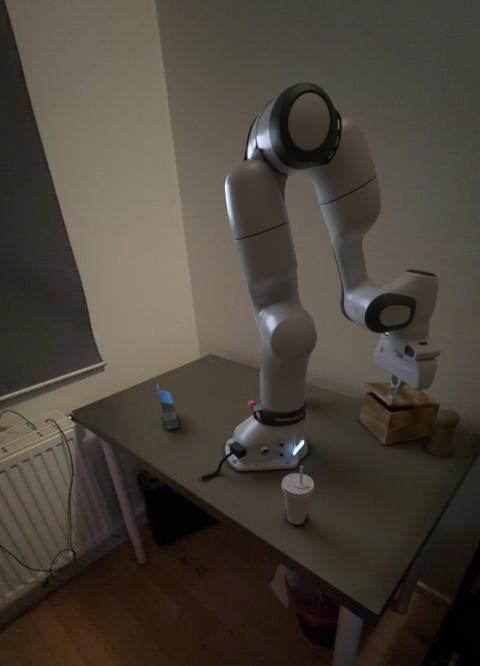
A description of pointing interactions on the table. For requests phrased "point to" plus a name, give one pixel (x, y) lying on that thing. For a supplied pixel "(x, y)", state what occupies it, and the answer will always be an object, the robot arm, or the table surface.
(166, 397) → the cordless phone
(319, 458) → the table surface
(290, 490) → the smoothie
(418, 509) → the table surface
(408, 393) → the bin lid
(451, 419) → the olive tapered rounded piece
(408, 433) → the bin
